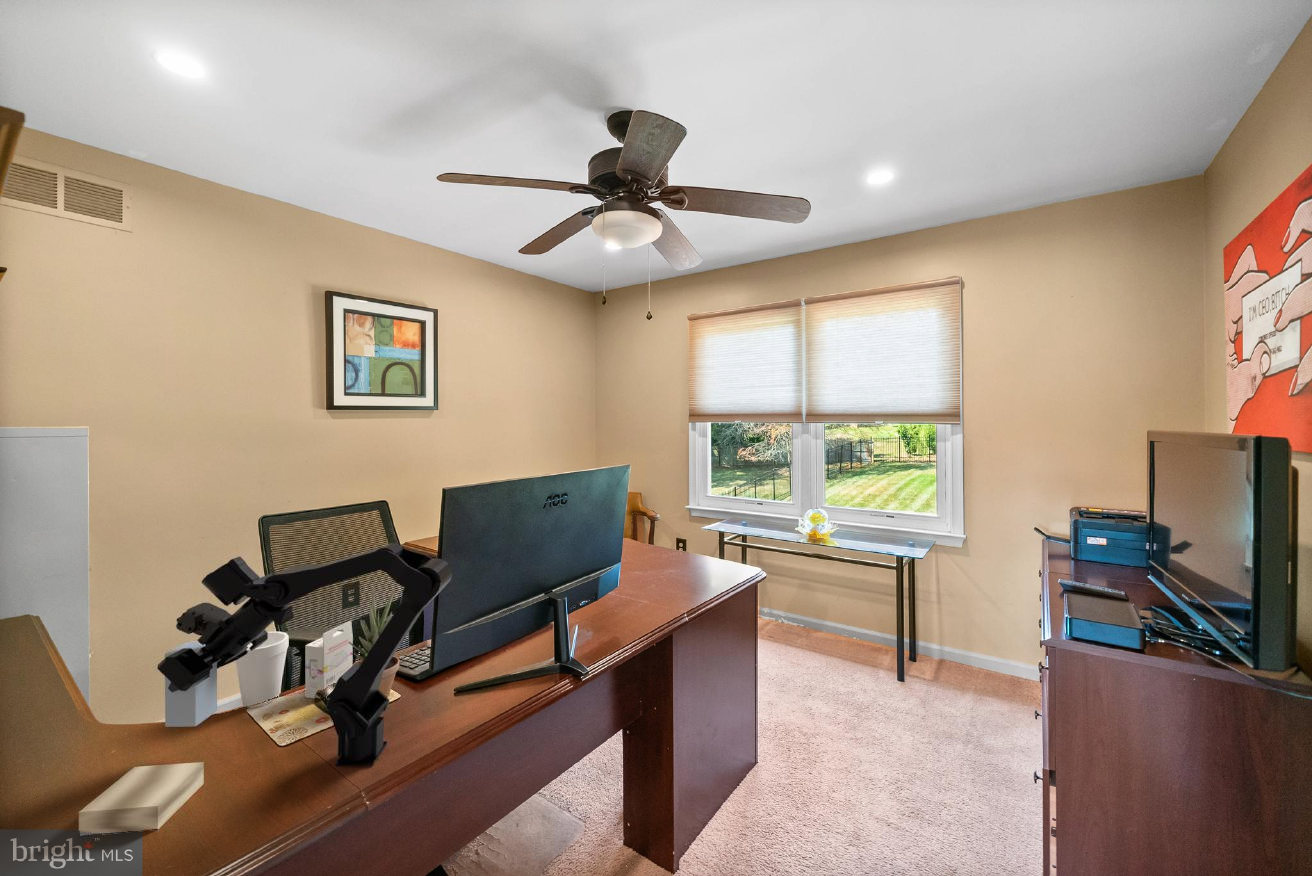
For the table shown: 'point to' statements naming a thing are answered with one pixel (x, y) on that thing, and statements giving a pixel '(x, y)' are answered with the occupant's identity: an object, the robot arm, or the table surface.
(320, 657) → the ink cartridge box
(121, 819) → the maple block
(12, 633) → the table surface
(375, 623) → the potted plant
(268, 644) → the foam cup
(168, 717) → the slate blue pillar
